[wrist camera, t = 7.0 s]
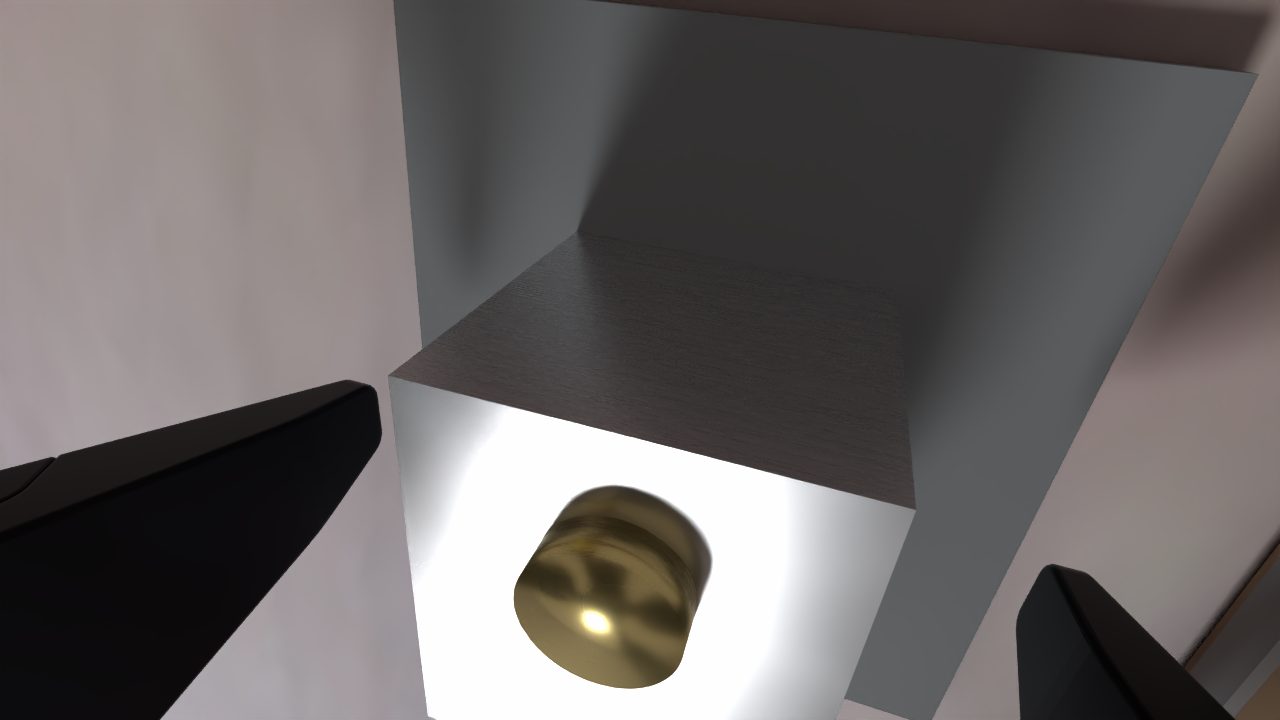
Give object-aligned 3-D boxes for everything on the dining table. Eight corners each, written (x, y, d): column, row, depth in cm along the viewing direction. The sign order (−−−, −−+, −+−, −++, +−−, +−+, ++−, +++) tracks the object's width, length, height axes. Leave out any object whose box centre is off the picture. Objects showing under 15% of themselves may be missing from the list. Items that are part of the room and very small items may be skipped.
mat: (926, 696, 13) (929, 725, 12) (455, 548, 15) (441, 568, 14) (1232, 69, 7) (1258, 74, 7) (417, -20, 9) (391, -22, 9)
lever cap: (814, 563, 11) (780, 901, 7) (566, 494, 12) (404, 753, 8) (896, 289, 9) (919, 557, 5) (576, 230, 10) (350, 404, 5)
